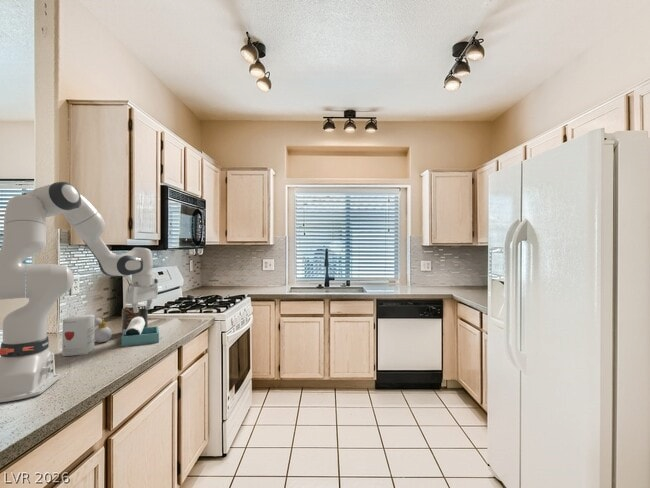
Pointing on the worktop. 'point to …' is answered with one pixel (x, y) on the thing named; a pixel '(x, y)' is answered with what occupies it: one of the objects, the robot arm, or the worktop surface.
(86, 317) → the supplement box
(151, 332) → the bin
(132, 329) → the can
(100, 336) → the perfume bottle
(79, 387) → the worktop surface
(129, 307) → the jar
